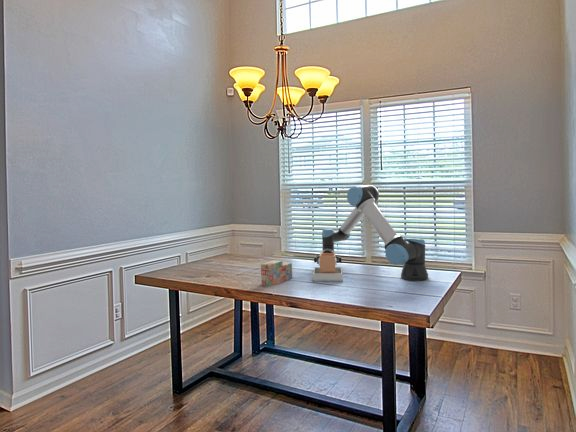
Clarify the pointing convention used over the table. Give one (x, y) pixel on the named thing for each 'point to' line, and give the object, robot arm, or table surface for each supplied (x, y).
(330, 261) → the terracotta crate
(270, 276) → the stack of blocks
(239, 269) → the table surface
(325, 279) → the grey crate
